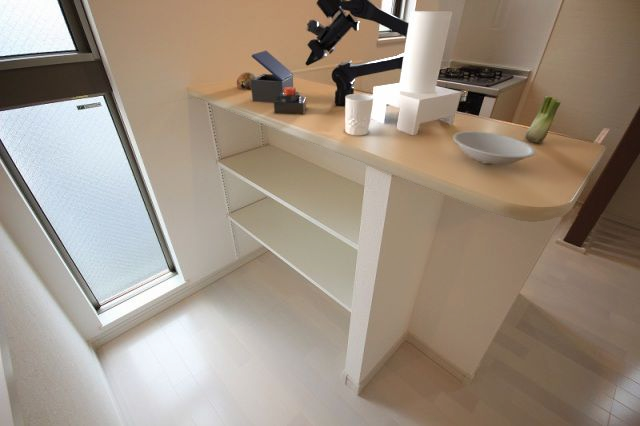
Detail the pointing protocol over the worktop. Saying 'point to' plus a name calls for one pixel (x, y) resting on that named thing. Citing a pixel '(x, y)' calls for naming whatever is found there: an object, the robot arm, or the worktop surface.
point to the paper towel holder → (420, 76)
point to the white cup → (358, 113)
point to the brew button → (289, 90)
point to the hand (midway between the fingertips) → (306, 64)
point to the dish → (492, 147)
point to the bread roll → (245, 80)
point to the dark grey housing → (268, 87)
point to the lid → (272, 65)
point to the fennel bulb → (542, 120)
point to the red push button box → (290, 104)
